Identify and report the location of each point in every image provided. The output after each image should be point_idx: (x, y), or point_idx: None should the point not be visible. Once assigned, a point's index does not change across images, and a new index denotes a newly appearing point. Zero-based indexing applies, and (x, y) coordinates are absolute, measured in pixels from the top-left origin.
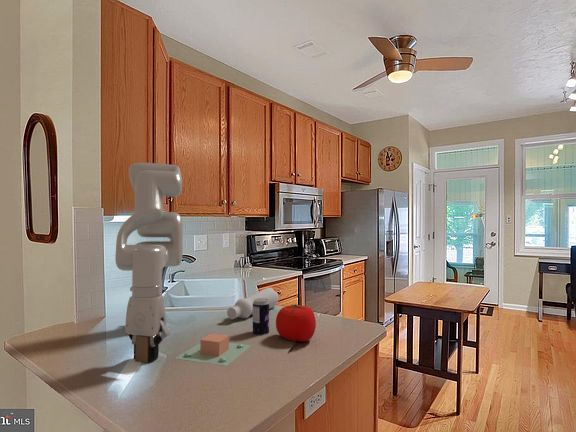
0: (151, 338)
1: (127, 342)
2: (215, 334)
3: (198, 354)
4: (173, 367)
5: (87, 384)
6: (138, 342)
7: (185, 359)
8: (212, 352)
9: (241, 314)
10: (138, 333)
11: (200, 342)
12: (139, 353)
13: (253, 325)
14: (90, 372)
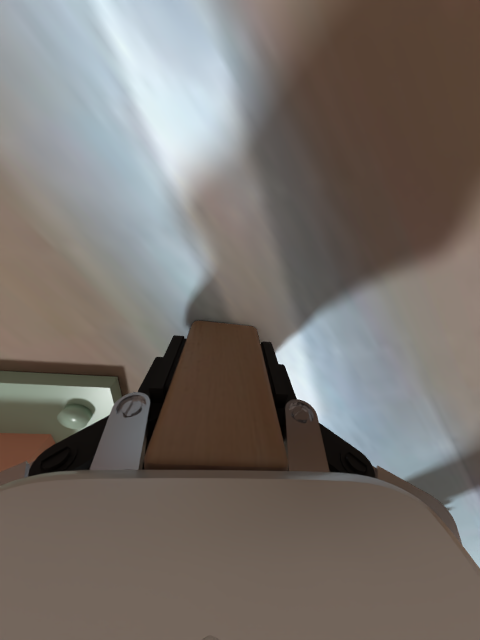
0: (118, 456)
1: (383, 455)
2: None
3: (52, 429)
4: (78, 337)
5: (386, 11)
6: (246, 408)
7: (56, 388)
8: None
9: None
10: (228, 498)
11: None
12: (233, 354)
13: None
14: (429, 206)
